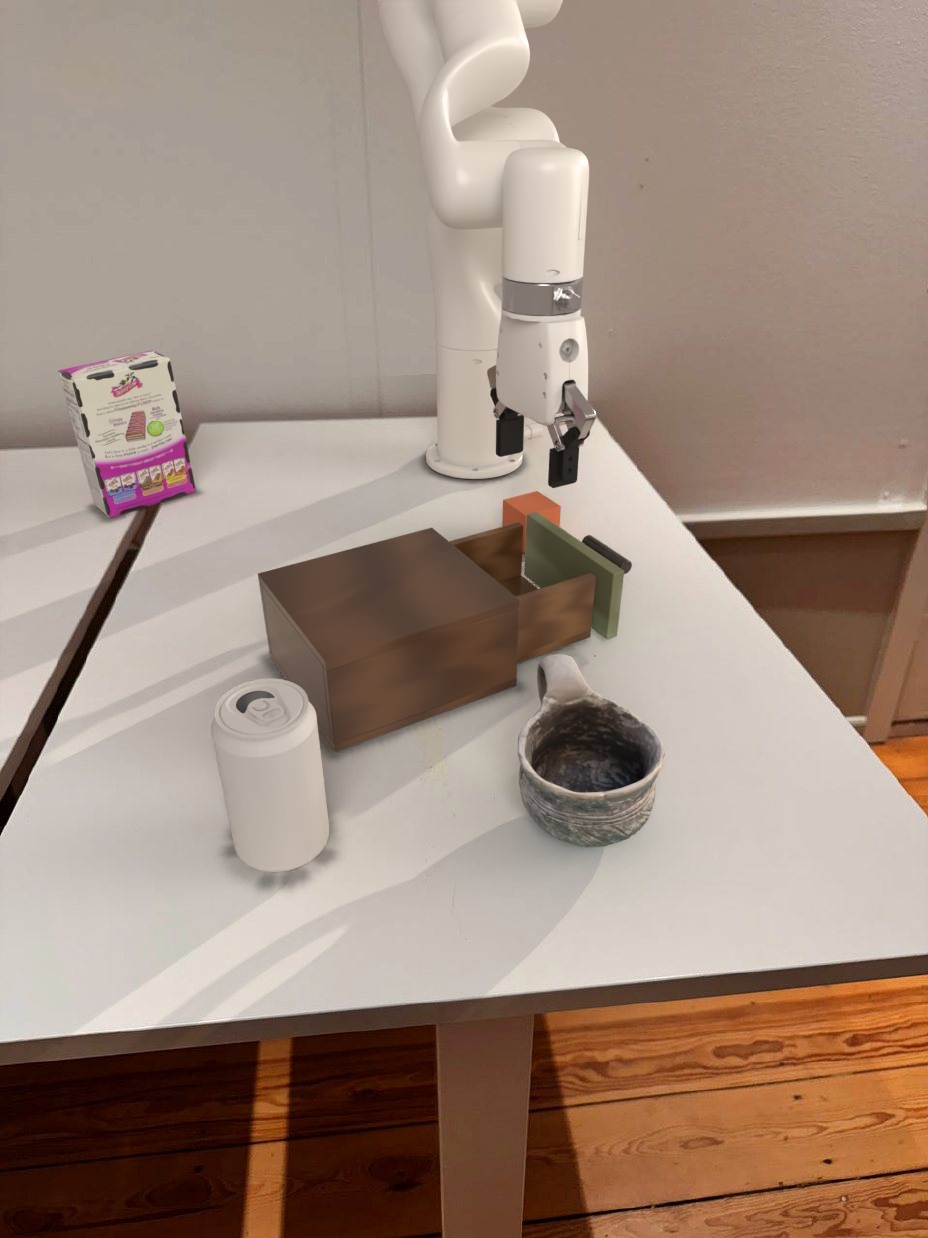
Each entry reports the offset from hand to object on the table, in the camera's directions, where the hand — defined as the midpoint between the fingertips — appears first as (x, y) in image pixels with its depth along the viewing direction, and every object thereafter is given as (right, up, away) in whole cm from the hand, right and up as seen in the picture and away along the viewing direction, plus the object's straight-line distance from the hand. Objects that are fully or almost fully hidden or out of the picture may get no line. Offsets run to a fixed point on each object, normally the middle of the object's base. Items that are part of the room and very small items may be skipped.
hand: (534, 468), depth 91 cm
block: (0, -7, +5) cm, 9 cm away
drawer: (-2, -16, -10) cm, 19 cm away
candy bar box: (-46, -1, +14) cm, 48 cm away
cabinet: (-14, -20, -15) cm, 29 cm away
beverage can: (-20, -31, -31) cm, 48 cm away
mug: (0, -29, -28) cm, 41 cm away
